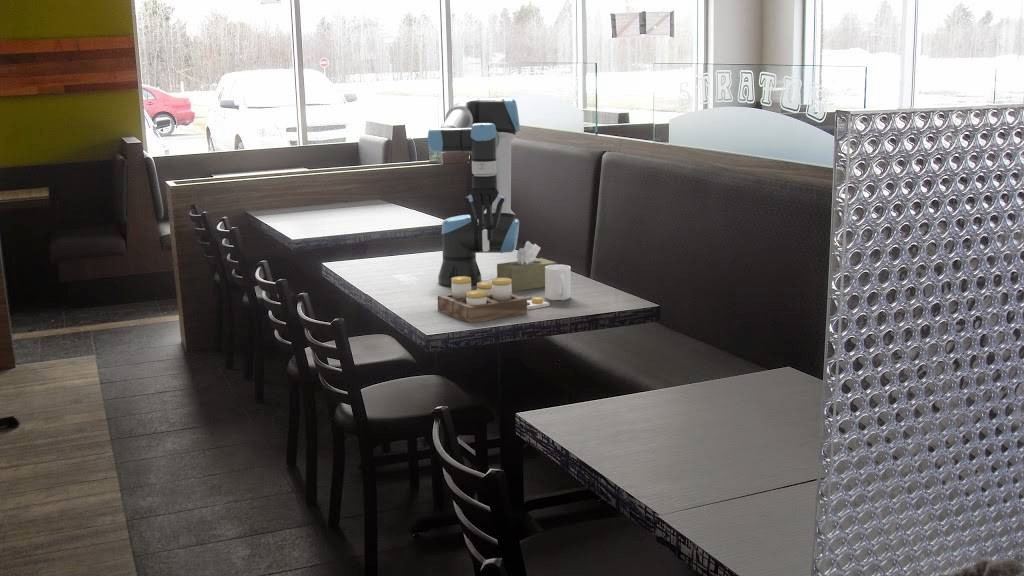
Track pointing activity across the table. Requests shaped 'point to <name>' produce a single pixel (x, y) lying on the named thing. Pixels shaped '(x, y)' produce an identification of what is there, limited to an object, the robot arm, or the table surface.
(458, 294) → the button
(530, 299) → the card
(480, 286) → the button
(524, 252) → the tissue box
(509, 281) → the button
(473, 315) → the board
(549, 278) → the mug
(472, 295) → the button
